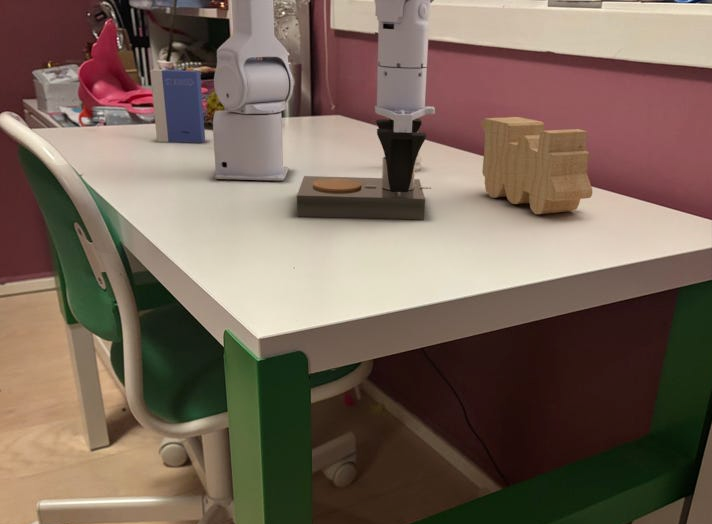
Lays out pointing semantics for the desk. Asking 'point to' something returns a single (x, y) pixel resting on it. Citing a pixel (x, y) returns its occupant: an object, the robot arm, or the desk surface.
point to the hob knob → (385, 176)
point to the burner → (337, 185)
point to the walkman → (178, 105)
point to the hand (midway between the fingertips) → (398, 184)
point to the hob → (360, 200)
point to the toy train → (535, 164)
